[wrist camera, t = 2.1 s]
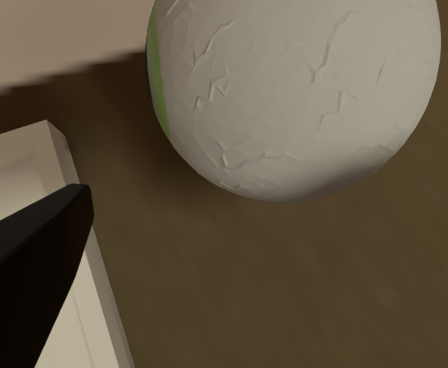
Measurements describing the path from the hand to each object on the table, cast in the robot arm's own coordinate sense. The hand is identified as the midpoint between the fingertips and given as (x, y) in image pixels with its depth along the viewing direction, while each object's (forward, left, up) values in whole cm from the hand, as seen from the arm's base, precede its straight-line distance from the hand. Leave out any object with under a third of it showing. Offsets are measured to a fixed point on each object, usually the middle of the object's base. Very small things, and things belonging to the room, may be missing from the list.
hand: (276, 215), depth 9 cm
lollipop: (+3, +2, -12) cm, 12 cm away
